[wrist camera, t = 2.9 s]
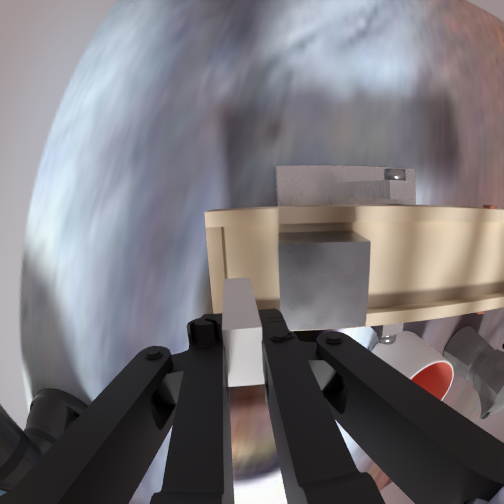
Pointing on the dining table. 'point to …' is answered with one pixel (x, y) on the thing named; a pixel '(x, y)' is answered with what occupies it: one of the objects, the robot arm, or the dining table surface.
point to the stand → (347, 196)
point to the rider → (323, 279)
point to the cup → (418, 362)
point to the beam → (373, 255)
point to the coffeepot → (478, 367)
